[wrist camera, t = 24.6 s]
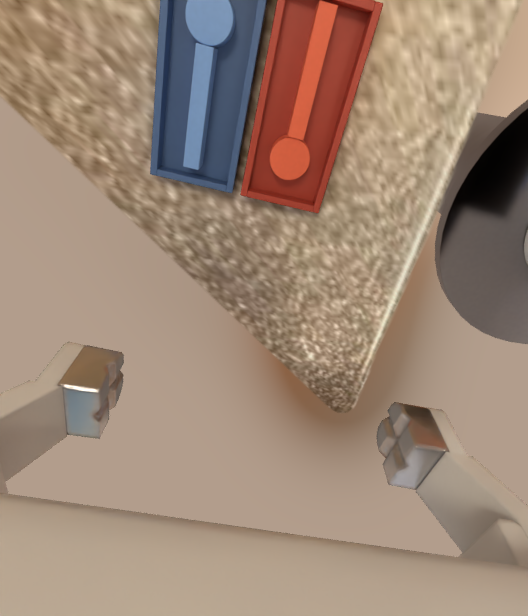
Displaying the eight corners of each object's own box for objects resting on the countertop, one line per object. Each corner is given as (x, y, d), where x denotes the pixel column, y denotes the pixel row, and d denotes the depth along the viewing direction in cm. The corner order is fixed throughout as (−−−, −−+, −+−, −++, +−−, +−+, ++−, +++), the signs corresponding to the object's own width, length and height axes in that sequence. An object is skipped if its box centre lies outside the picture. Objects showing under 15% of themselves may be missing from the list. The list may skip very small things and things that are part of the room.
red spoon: (302, 1, 28) (304, -5, 26) (347, 14, 29) (352, 9, 27) (266, 170, 35) (265, 176, 33) (302, 179, 35) (304, 185, 33)
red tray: (377, 7, 29) (383, 3, 27) (316, 207, 37) (318, 213, 36) (282, -21, 28) (282, -27, 26) (241, 190, 37) (240, 195, 35)
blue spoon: (214, 167, 35) (210, 173, 33) (176, 158, 35) (170, 163, 33) (239, -3, 28) (236, -9, 26) (193, -16, 28) (186, -23, 26)
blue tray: (271, -24, 28) (271, -30, 26) (233, 188, 36) (231, 193, 35) (170, -54, 27) (163, -62, 26) (155, 169, 36) (150, 174, 34)
